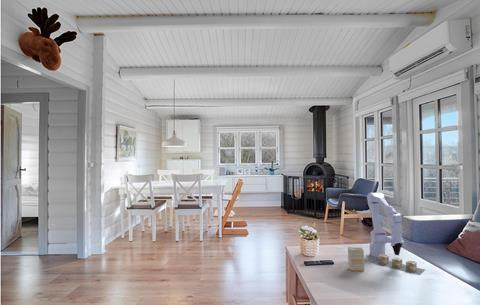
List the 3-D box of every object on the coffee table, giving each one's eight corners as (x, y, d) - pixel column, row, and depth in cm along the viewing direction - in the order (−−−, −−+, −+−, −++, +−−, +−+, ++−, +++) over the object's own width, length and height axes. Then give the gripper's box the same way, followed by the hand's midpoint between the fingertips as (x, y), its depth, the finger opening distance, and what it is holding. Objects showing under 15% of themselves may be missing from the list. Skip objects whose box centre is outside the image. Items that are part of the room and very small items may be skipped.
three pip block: (405, 269, 174) (405, 261, 174) (408, 267, 177) (408, 259, 177) (414, 271, 170) (414, 263, 171) (416, 269, 174) (416, 261, 174)
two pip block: (378, 262, 186) (378, 255, 186) (381, 260, 189) (381, 253, 189) (386, 264, 182) (385, 257, 182) (388, 262, 185) (388, 255, 185)
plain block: (391, 265, 180) (391, 258, 180) (394, 264, 183) (394, 257, 183) (399, 267, 176) (399, 260, 177) (402, 266, 179) (402, 258, 180)
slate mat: (370, 263, 186) (370, 262, 186) (378, 259, 194) (378, 258, 194) (419, 276, 165) (419, 275, 165) (425, 270, 173) (425, 269, 173)
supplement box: (361, 268, 178) (361, 247, 178) (364, 271, 173) (363, 249, 173) (348, 268, 178) (347, 247, 179) (350, 271, 174) (349, 249, 174)
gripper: (399, 236, 172) (399, 259, 172) (407, 232, 182) (407, 253, 182) (386, 234, 177) (387, 256, 177) (395, 230, 187) (395, 251, 187)
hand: (396, 254), depth 180 cm, fingers closed
